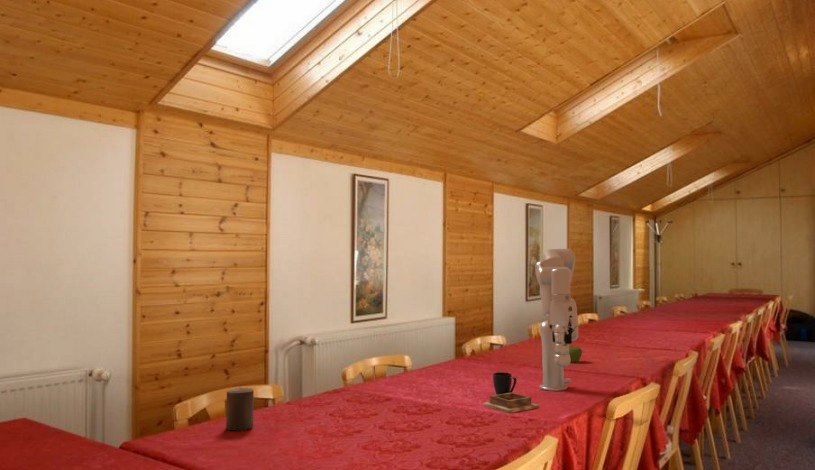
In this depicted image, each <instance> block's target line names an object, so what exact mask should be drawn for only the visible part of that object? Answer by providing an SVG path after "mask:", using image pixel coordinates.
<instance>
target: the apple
mask: <svg viewBox="0 0 815 470" xmlns="http://www.w3.org/2000/svg"><path fill="white" fill-rule="evenodd" d="M569 355H570V359H571V361H570V363H578V362H579V361H580V359H581V357H582V355H583V350H582V348H581V347H580V346H577V345H576V346H575V345H569Z"/></svg>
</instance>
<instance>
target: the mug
mask: <svg viewBox="0 0 815 470" xmlns="http://www.w3.org/2000/svg"><path fill="white" fill-rule="evenodd" d="M512 379H513V380H512ZM492 382H493V388H494V393H495V395H499V394H505V393H511V392H512V393H514V389H515V387H516V385H517V383H518V381H517V377H514V376H513V375H512V373H510V372H504V371H503V372H501V371H500V372H499V371H498V372H494V373H493V374H492Z"/></svg>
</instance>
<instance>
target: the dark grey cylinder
mask: <svg viewBox="0 0 815 470" xmlns="http://www.w3.org/2000/svg"><path fill="white" fill-rule="evenodd" d="M254 393H255V392H254V389H253V388H248V387H238V388H231V389H228V390H226V410H225V412H226V415H225V416H226V418H225V421H226V422H225V428H226V430H227V429H228V430H227V431H230V430H236V431H235V432H240V431H239V430H244V431H248V430H247V429H249V430H251V429H250V428H252V427H253V428H254V397H255V396H254ZM253 428H252V429H253Z"/></svg>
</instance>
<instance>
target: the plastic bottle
mask: <svg viewBox="0 0 815 470" xmlns="http://www.w3.org/2000/svg"><path fill="white" fill-rule="evenodd" d="M568 330H569V328H568ZM565 334H566V332H565V328H564V327H562V326H560V325H559V324H557V325H555V327H554V336H555V343H556V344H555V345H556V348H555V358H554V361H555V364H556V365H558V366H562V367H563V368H564V367H567V366H570V364H571V362H570V361H571V359H570V355H569V346H570V344H565Z"/></svg>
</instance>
